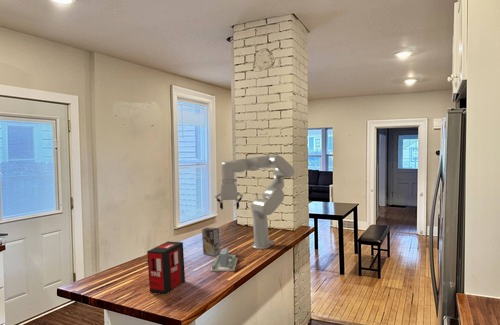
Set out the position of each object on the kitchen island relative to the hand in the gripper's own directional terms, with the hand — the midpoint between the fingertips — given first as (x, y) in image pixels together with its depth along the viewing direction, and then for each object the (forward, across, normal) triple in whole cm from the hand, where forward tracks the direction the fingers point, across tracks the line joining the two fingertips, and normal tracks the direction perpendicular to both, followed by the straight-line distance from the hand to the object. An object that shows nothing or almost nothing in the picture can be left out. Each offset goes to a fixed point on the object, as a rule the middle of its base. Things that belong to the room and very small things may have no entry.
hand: (229, 209), depth 212 cm
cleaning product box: (+28, +26, +48) cm, 62 cm away
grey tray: (+28, +2, +20) cm, 35 cm away
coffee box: (+28, +13, -1) cm, 31 cm away
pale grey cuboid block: (+27, +2, +20) cm, 34 cm away
